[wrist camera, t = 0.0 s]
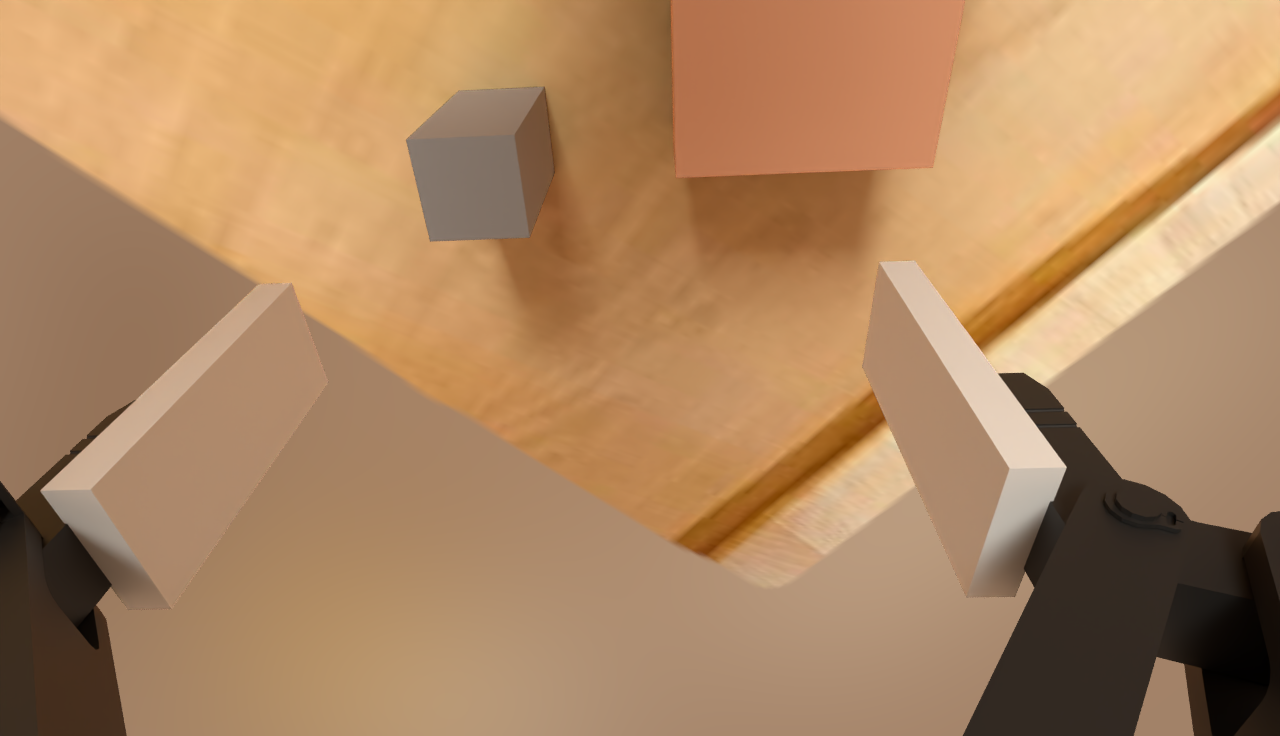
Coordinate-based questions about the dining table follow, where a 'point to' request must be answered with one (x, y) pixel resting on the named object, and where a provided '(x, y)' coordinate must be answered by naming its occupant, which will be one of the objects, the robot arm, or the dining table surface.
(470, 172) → the grey block
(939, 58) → the tower top
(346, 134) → the dining table surface
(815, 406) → the dining table surface
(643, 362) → the dining table surface
